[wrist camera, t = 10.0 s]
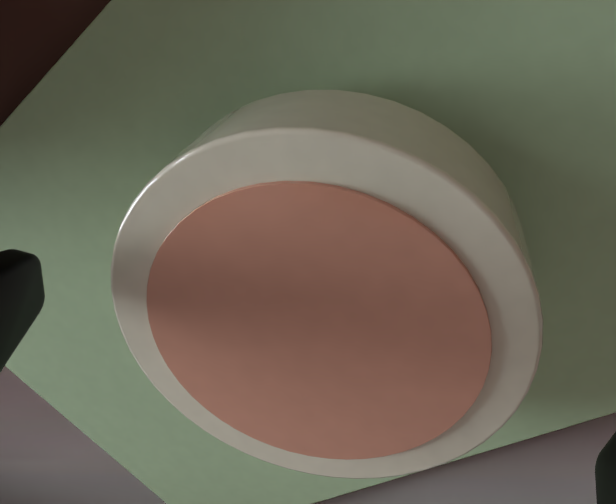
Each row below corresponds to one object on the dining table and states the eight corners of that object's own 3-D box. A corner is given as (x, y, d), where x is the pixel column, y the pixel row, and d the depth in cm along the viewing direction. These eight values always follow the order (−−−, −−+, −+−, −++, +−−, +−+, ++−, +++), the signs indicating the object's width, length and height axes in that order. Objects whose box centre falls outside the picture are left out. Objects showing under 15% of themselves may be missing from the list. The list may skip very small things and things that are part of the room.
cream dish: (383, 428, 13) (370, 531, 11) (129, 279, 12) (59, 359, 10) (612, 223, 9) (664, 320, 7) (265, -8, 8) (202, 18, 6)
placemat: (209, 525, 17) (204, 536, 17) (-106, 253, 14) (-120, 261, 14) (1122, 237, 8) (1153, 252, 8) (873, -847, 4) (907, -909, 4)
